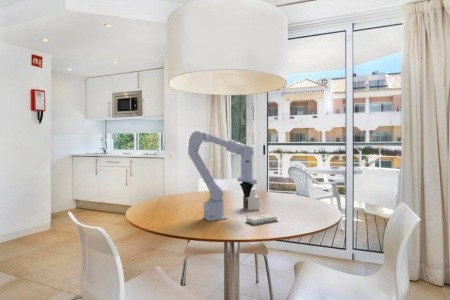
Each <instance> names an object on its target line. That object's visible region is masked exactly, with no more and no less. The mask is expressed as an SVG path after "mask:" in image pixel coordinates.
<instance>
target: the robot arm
mask: <svg viewBox="0 0 450 300" xmlns="http://www.w3.org/2000/svg"><path fill="white" fill-rule="evenodd" d="M203 143H213V144H215V145H217V146H222V147H224V148H225V149H226V151H228V152H231V153H233V154H235V155H240V176H239V177H237V179H236V181H237V182H240V183H239V185H240V188H241V190H242V192H243V196H244V197H245V198H247V197H249V196H250V192H251V189H252V187H254V186H255V185H257V184H258V183H257V179H255V178H253V155H254V149H253V148H252V147H251V146H249V145H246V144H245V143H241V142H238V141H236V139H229V140H225V139H223V138H220V137H218V136H215V135H212V134H210V133H206V132H201V131H200V130H199V131H198V130H195V131H193V132H192V133H191V135H190V137H189V139H188V150H187V154H188V156H189V157H190V159H191V161H192V163H193V164H194V167H196V170H197V171H198V173H199V174H200V177H201V178H202V180H203V182H204V184H205V185H206V187H207V189H208V191H209V196H210V197H209V198H208V200H207V201H204V202H203V217H202V218H203V219H205V220H207V221H209V222H214V221H218V220H226V219H228V217H227V216H224V215H225V213H224V211H225V210H224V209H225V207H224V203H225V202H224V200H225V199H224V198H223V197H224V191H223V190H222V187H220V186H219V185H218V184H217V182H216V181H215V179H214V177H213V176H212V174H211V173H210V169H208V167H207V165H206V164H205V162H204V160H203V159H202V157H201V154H200V153H199V150H200V147H201V145H202V144H203Z"/></svg>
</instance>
